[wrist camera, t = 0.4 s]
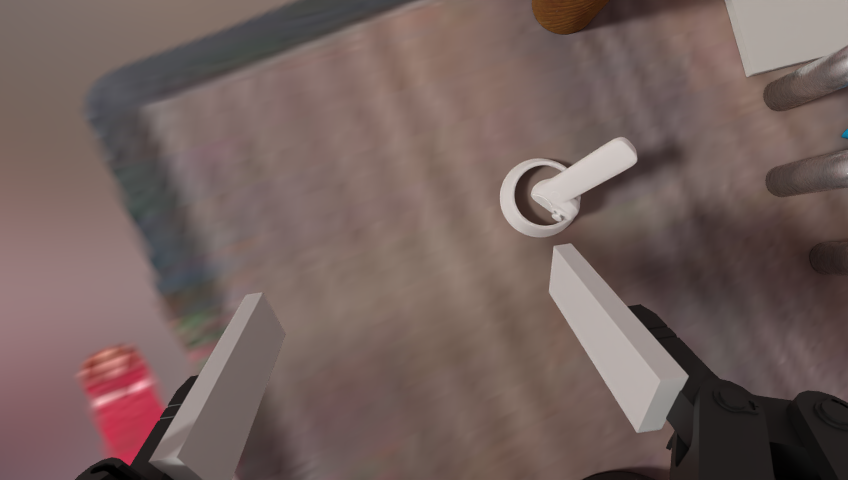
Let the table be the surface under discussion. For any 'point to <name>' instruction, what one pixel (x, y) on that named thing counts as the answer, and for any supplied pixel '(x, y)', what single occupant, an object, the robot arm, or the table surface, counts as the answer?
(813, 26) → the rubber mat
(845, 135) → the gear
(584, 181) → the hook
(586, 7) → the disposable coffee cup
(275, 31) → the table surface
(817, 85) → the spacer posts
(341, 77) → the table surface
